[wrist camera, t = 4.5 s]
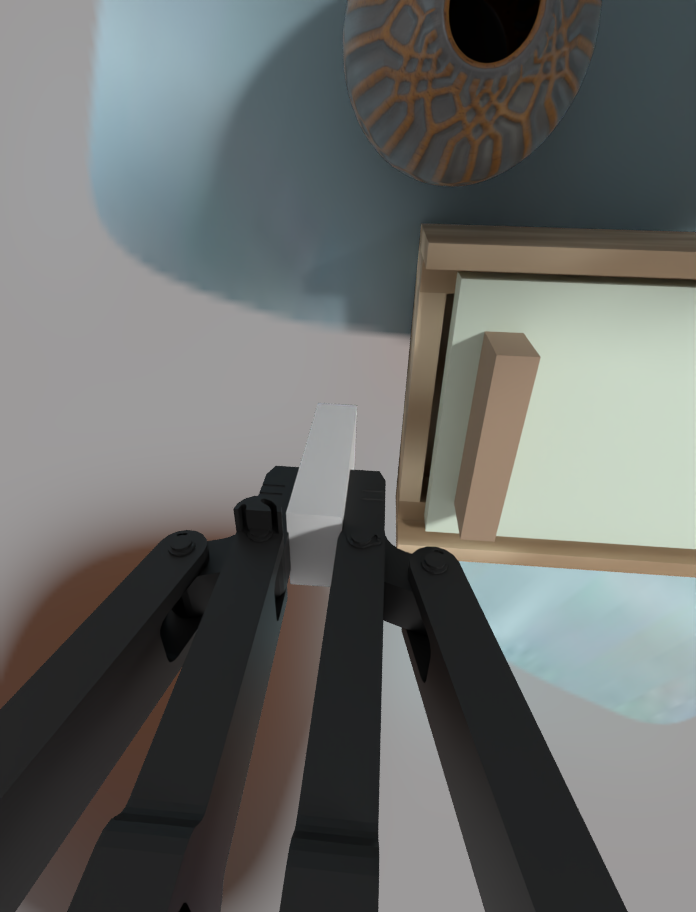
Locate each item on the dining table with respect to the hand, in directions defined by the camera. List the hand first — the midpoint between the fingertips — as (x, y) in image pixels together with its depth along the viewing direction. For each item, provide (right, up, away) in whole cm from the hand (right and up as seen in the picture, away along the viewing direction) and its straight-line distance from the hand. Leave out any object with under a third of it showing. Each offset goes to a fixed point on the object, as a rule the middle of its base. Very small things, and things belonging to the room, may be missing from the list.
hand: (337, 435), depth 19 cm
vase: (+4, +13, -2) cm, 14 cm away
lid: (+12, +1, +2) cm, 12 cm away
